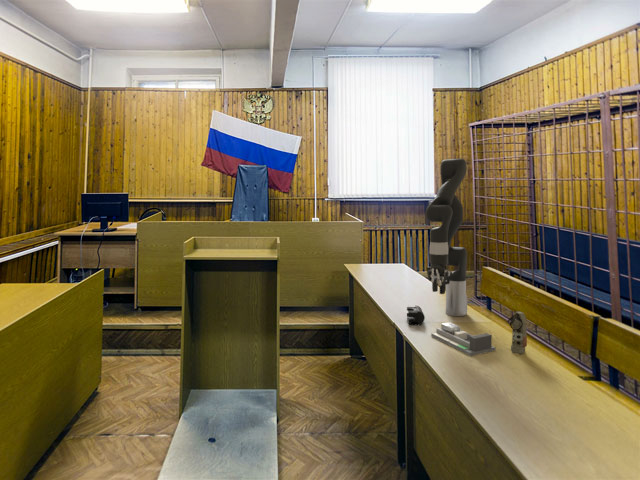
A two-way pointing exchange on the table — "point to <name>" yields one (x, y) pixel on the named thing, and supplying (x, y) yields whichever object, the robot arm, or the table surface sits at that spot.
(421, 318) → the end cap
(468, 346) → the gauge board
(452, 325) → the grey textured block
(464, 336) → the white upright block
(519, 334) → the grenade model
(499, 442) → the table surface
